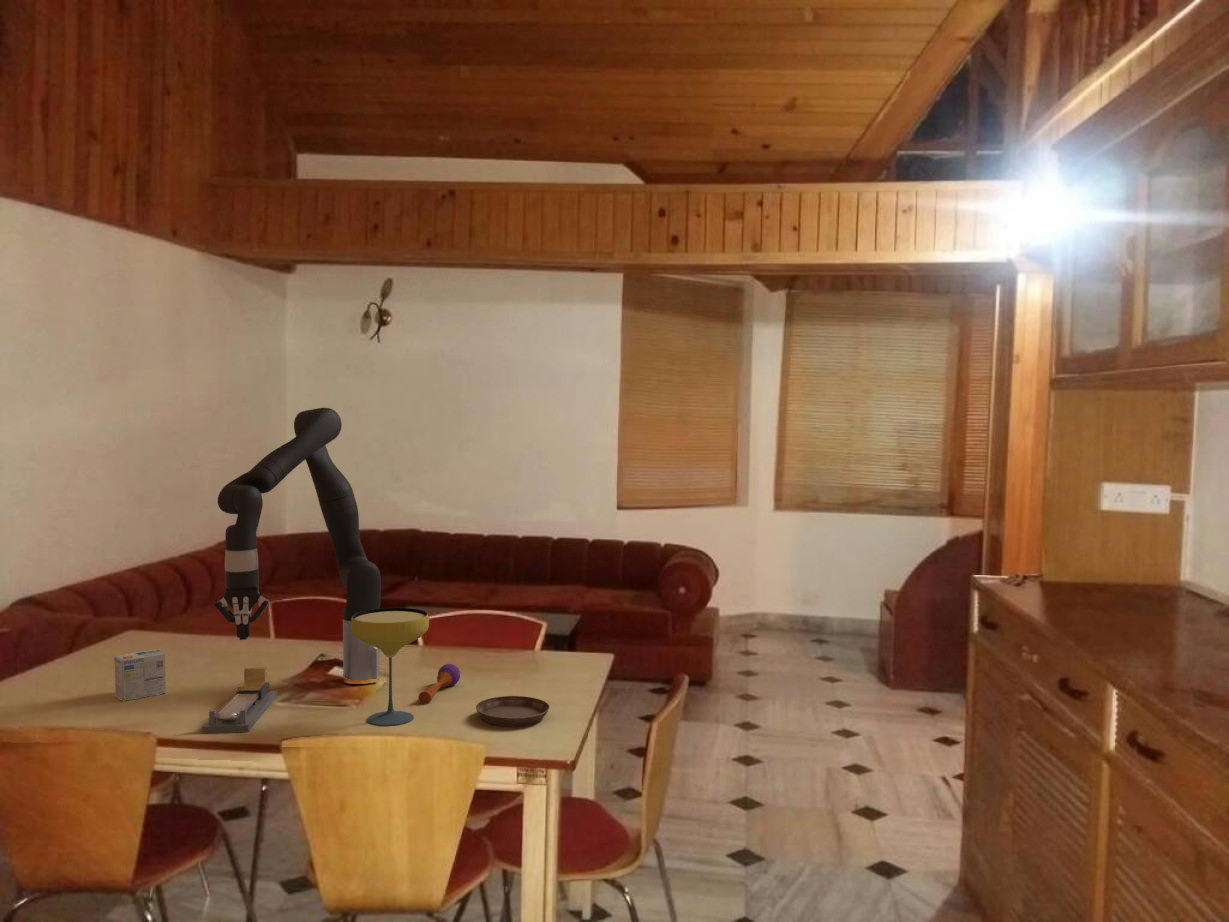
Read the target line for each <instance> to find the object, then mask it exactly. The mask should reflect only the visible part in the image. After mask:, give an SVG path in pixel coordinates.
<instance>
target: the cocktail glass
mask: <svg viewBox="0 0 1229 922" xmlns="http://www.w3.org/2000/svg"><path fill="white" fill-rule="evenodd" d="M429 625H430V617H429V614H428V611H425V610H422V609H418V608H409V607H384V608H383V607H382V608H379V609H372V610H366V611H362V612H359V613H356V614H354V615H353V616H352V619H351V630H352V633H353V634H354V635H355V636H356V637H357V638H358V639H360V640H361V641H363V642H365V643H367V644H370V645H372V646H375V647H377V648H379V651H381V652H382V653H383V655H385V657H387V658H388V661H389V662H388V705H387V710H386V711H385V710H384V711H380V712H377V713H373V714H371V715H370V716H368V717H367V718H366V721H367V722H368V723H369V724H370V725H374V726H378V727H392V726H395V727H396V726H400V725H405V724H408V723H410V722H411V721H413V719H414V714H413V713H411V712H409V711H408V712H407V711H404V710H402V711H401V710H395V709H394V705H393V676H392V675H393V673H392V672H393V671H392V670H393V658H394V657H395V656H396V655H397V654H398V652H399V651H400V650H401V649H402V648H404V647H405V646H407V645H410V644H411V643H413V642H415V641H417V640H418V639H420V638H421V637H423V636H424V635H425V634H426V633H427V631H428V629H429V627H430V626H429Z"/></svg>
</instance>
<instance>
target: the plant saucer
mask: <svg viewBox="0 0 1229 922" xmlns="http://www.w3.org/2000/svg"><path fill="white" fill-rule="evenodd" d="M475 709H476V712H477V713H478V714H479V717H481V719H482V720H483V721H485V722H486V723H488V724H491V725H494V726H499V727H507V728H508V727H524V726H529V725H533V724H536V723H538V722H540V721H541V720H543V718H544V717H545V716H546V715H547V714H548V712H549V710H550V704H549V703H548V702H546V701H545V700H543V699H539V698H535V697H531V696H525V695H524V696H522V695H521V696H520V695H506V696H505V695H504V696H496V697H490V698H486V699H484V700H481V701H480V702H478V703H477V704H476V705H475Z"/></svg>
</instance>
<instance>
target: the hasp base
mask: <svg viewBox="0 0 1229 922" xmlns="http://www.w3.org/2000/svg"><path fill="white" fill-rule="evenodd" d="M237 694H258V698H257V699H256V700H255V702H254V703H253V704H252V705H251V706H250V707H249V708H248V709H241V710H240V717H239V718H238V720H222V721H217V714H218V713H219V712H220V711H221V710H222V709H223V708H224V707H225V706H226V705H227V704H228V703H229V702H230V701H231V700H232V699H233V698H234V697H235V696H236V695H237ZM277 698H278V690H270V682H266V681H265V685H264V686H263V687H262V688H261V689H260V690H258V691H238V690H237V691H235V693H234V694H232V696H231V697H230V698H229V699H228V700H227V701H226V702H225V703H224V704H223V705H222V706H221V707H220V708H219V709H218V710H216V709H210V710H209V711H208V720H207V721H206V722H205V723H204V724H203V726H202V734H215V733H216V734H218V733H219V734H220V733H223V734H224V733H248V732H249V731H251V729H252V728H253V727H254V725H256V723H257V722H258V721H259V720H260V718H261V717H262V716H263V715H264V714H265V713H266V711H267V710H268V709H269V708H270V706H271V705H272V704H273V702H275V700H276V699H277Z"/></svg>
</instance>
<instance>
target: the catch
mask: <svg viewBox="0 0 1229 922" xmlns="http://www.w3.org/2000/svg"><path fill="white" fill-rule="evenodd" d="M266 679H267V667H266V666H264V667H262V666H261V667H259V666H257V667H256V666H253V667H251V666H250V667H245V668H244V669H243V681H242V683H241V684H239V686H238V687H237V688H238V689H237V691H258V690H260V689H261V688H262V687H263V686H264V685H265V682H266Z"/></svg>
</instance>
